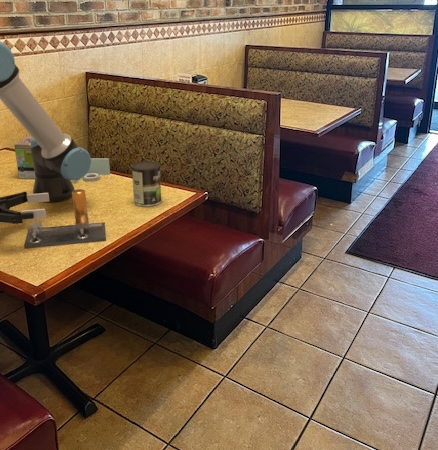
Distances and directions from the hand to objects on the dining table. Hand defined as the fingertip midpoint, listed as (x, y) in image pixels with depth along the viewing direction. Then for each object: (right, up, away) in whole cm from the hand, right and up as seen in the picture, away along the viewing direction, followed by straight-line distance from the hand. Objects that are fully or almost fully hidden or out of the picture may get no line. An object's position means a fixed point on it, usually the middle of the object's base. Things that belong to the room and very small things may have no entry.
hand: (47, 204), depth 154 cm
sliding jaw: (+10, -8, +4) cm, 13 cm away
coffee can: (+27, +2, +30) cm, 41 cm away
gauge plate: (+5, -10, +3) cm, 11 cm away
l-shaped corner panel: (+1, +12, +54) cm, 55 cm away
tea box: (-25, +16, +59) cm, 66 cm away
